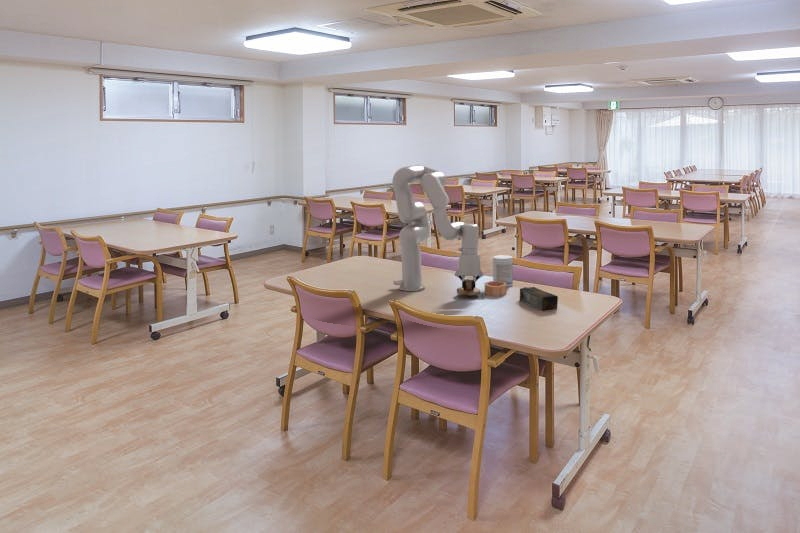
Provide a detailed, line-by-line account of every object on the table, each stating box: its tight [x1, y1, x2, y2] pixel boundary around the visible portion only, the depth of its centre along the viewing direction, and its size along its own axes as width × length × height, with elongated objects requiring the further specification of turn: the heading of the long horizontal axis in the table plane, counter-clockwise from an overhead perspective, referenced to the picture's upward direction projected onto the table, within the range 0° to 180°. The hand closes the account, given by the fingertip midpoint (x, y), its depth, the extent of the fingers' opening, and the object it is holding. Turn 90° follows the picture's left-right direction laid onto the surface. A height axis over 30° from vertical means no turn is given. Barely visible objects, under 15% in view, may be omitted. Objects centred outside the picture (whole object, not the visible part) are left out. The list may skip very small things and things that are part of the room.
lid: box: [456, 278, 481, 295], centre depth 281 cm, size 11×11×6 cm
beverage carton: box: [519, 286, 559, 312], centre depth 266 cm, size 8×19×7 cm, turn 20°
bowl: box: [484, 281, 508, 297], centre depth 285 cm, size 10×10×5 cm
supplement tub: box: [492, 254, 514, 287], centre depth 300 cm, size 10×10×15 cm
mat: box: [456, 292, 485, 301], centre depth 282 cm, size 12×12×1 cm
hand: (468, 289), depth 282 cm, fingers closed on lid, 3 cm apart
